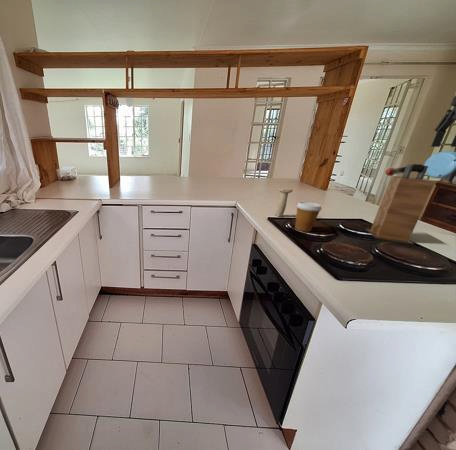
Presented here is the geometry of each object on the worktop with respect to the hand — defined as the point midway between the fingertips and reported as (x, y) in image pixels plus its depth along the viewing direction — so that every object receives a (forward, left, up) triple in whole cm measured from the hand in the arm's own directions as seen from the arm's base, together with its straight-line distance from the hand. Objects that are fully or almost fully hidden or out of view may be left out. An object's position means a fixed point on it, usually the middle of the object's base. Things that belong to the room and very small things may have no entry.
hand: (444, 146), depth 109 cm
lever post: (+7, +38, -39) cm, 55 cm away
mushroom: (+50, +43, -39) cm, 77 cm away
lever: (+10, +30, -12) cm, 34 cm away
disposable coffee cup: (+35, +56, -39) cm, 77 cm away
